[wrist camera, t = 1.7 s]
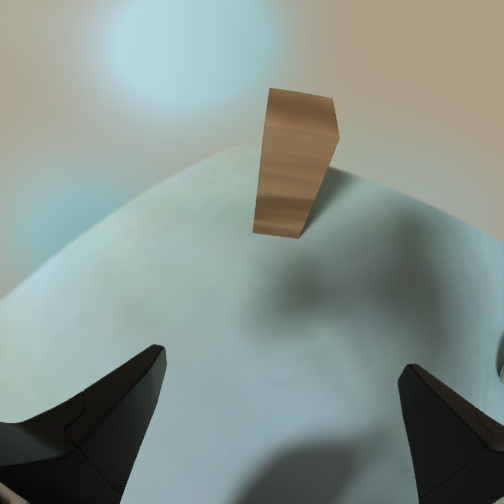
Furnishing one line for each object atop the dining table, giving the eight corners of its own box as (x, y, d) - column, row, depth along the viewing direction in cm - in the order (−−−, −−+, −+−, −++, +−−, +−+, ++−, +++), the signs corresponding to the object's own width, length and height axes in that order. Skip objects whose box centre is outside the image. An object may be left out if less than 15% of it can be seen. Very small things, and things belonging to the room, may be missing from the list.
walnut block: (298, 238, 26) (339, 138, 14) (252, 232, 26) (264, 125, 14) (299, 201, 28) (332, 98, 16) (257, 195, 28) (269, 88, 16)
